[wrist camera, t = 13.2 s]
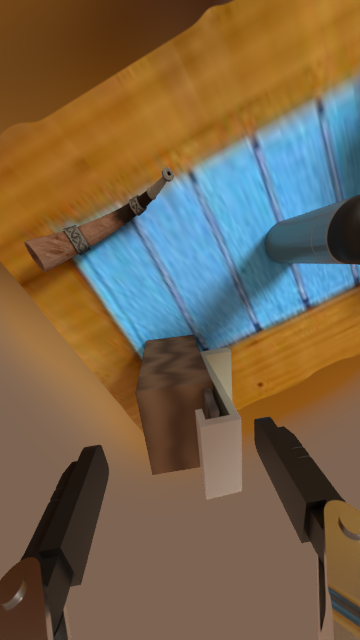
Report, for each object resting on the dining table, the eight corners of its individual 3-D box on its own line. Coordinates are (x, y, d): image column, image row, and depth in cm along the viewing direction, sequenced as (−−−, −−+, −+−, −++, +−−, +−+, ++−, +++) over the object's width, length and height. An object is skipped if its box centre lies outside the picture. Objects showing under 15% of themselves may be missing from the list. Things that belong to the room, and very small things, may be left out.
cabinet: (193, 334, 49) (221, 404, 25) (198, 392, 54) (225, 495, 30) (146, 340, 48) (130, 418, 24) (156, 398, 54) (150, 509, 30)
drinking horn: (39, 249, 40) (0, 245, 30) (164, 177, 38) (164, 149, 29) (56, 273, 42) (25, 277, 32) (176, 205, 40) (181, 188, 30)
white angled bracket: (227, 347, 44) (284, 410, 25) (228, 396, 49) (278, 482, 30) (178, 355, 43) (200, 427, 24) (184, 404, 47) (206, 499, 28)
